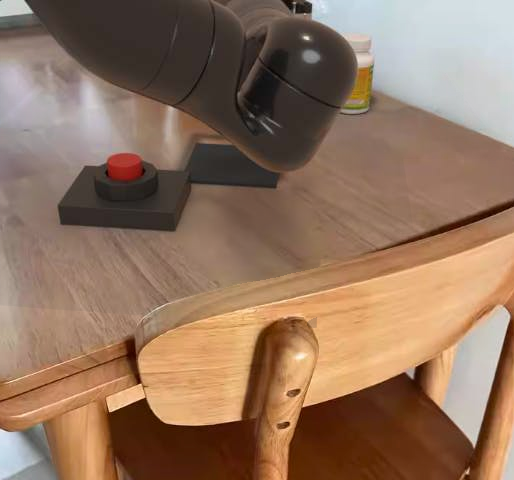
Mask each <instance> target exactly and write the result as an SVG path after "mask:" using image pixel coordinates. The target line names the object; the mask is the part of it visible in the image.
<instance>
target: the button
mask: <svg viewBox="0 0 514 480" xmlns="http://www.w3.org/2000/svg"><path fill="white" fill-rule="evenodd" d="M142 161H143V159H142V157H141V156H140V155H138V154H136V153H131V152H121V153H120V152H119V153H115V154H112V155H110V156H109V157H108V158H107V159H106V163H107V169H108V177H109V178H112V179H114V180H131V179H137V178H139V177H141V176H142V175H143V169H142Z"/></svg>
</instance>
